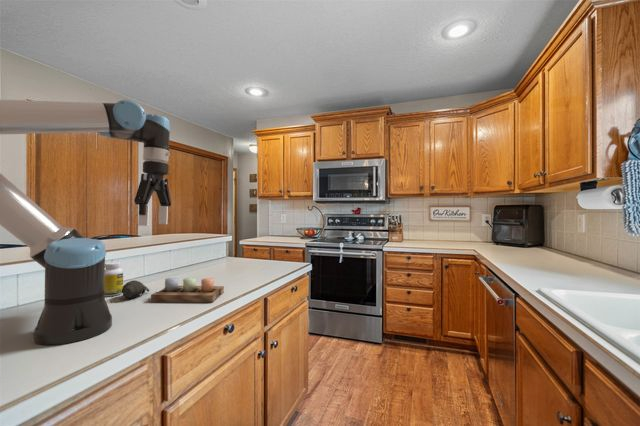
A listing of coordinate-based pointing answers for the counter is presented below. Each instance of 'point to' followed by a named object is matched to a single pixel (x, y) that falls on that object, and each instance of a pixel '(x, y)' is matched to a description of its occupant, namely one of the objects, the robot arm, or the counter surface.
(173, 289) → the grey cylinder
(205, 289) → the terracotta button
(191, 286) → the sage button
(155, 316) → the counter surface
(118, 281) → the pill bottle
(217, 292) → the wooden tray
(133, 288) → the hand grenade
